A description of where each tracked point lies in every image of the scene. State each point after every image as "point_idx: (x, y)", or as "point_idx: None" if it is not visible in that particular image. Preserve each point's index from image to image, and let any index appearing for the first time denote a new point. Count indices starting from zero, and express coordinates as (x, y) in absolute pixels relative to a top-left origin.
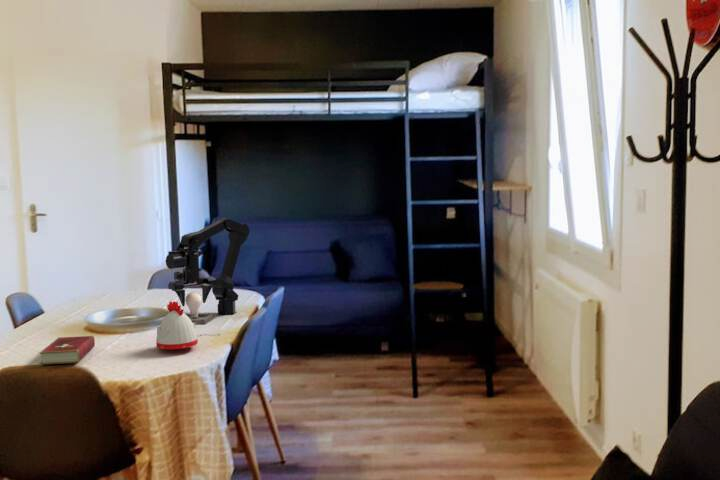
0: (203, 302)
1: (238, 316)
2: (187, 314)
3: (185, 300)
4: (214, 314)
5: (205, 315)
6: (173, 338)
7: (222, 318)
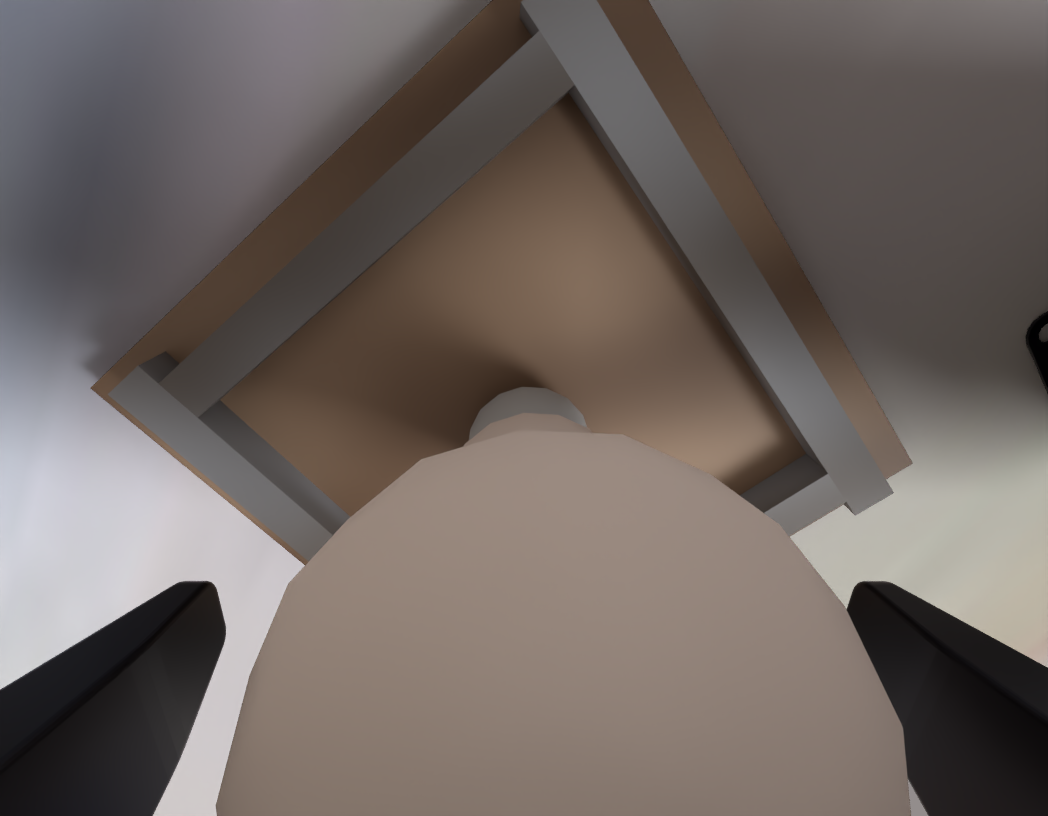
0: (855, 607)
1: (1042, 620)
2: (576, 93)
3: (269, 631)
4: (861, 502)
5: (770, 397)
6: None
7: (850, 579)
